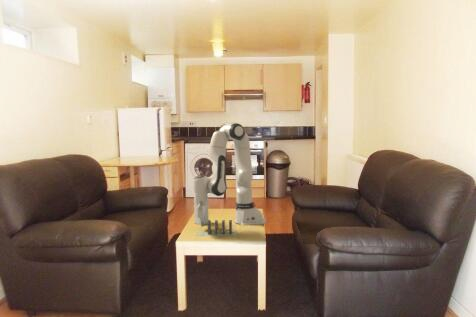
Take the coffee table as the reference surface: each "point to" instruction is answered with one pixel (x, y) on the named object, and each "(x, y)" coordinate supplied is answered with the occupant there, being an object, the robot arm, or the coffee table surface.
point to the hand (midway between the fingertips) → (202, 220)
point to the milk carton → (196, 219)
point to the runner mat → (214, 233)
